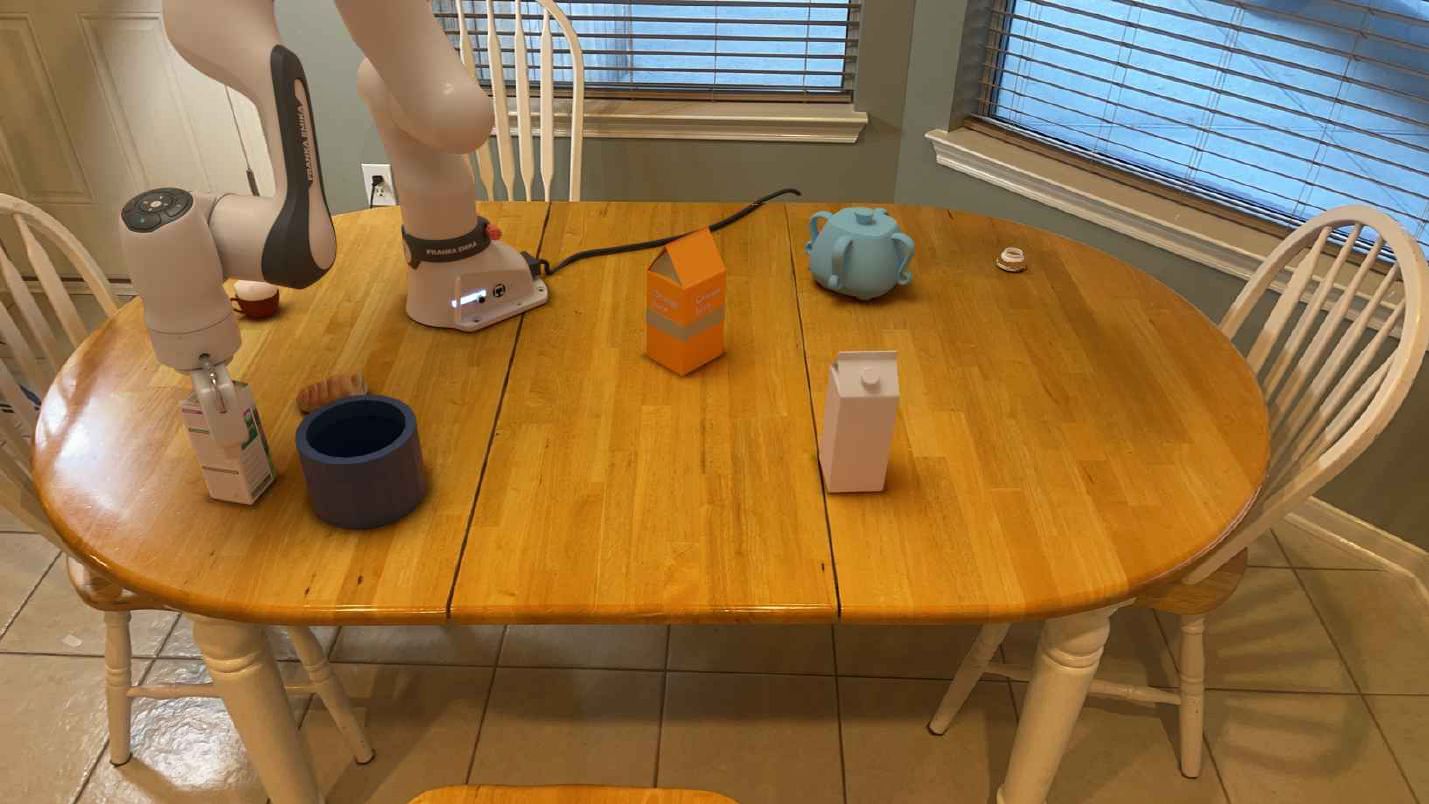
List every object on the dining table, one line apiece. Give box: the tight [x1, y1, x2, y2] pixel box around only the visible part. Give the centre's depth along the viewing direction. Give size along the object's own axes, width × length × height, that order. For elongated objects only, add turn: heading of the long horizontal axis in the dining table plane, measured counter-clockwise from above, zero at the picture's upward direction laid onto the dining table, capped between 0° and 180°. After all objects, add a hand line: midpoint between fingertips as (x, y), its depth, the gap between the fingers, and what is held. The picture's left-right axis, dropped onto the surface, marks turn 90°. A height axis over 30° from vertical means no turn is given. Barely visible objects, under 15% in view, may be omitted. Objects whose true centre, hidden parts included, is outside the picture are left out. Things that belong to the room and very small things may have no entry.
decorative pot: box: [804, 206, 916, 301], centre depth 170 cm, size 16×16×14 cm
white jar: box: [995, 247, 1026, 272], centre depth 180 cm, size 5×3×5 cm
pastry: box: [295, 372, 369, 414], centre depth 140 cm, size 9×7×4 cm
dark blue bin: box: [294, 393, 427, 530], centre depth 123 cm, size 14×14×10 cm
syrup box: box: [177, 379, 278, 506], centre depth 122 cm, size 6×6×14 cm
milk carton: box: [818, 350, 900, 493], centre depth 126 cm, size 7×7×19 cm
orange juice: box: [645, 225, 727, 377], centre depth 148 cm, size 8×9×20 cm
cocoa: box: [229, 280, 280, 319], centre depth 156 cm, size 10×6×12 cm, turn 104°
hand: (226, 434), depth 121 cm, fingers closed on syrup box, 7 cm apart
